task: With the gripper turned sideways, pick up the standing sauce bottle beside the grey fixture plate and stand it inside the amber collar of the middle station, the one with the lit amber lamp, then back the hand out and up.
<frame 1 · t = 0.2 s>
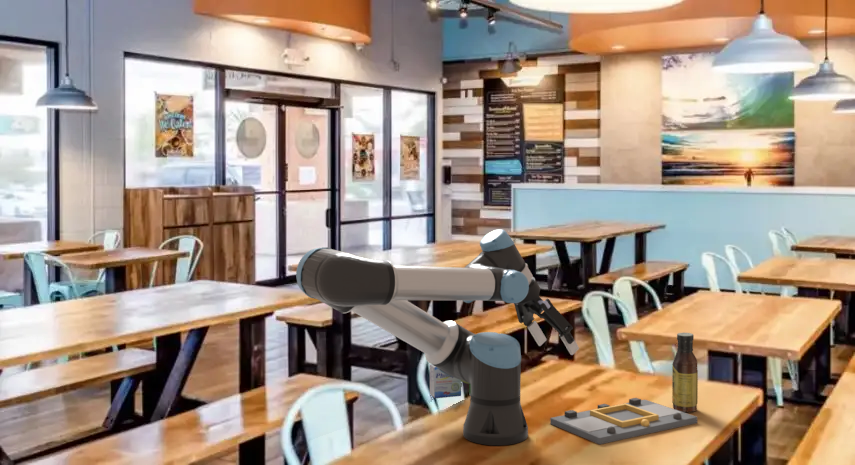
hand: (558, 347, 231), 15 cm above the table, tool tilted 35°, fingers open, 13 cm apart
sauce bottle: (684, 410, 227), on the table
medicine box: (445, 396, 242), on the table
soda can: (483, 399, 239), on the table
plant pot: (470, 381, 257), on the table
grey fixture plate: (623, 423, 216), on the table
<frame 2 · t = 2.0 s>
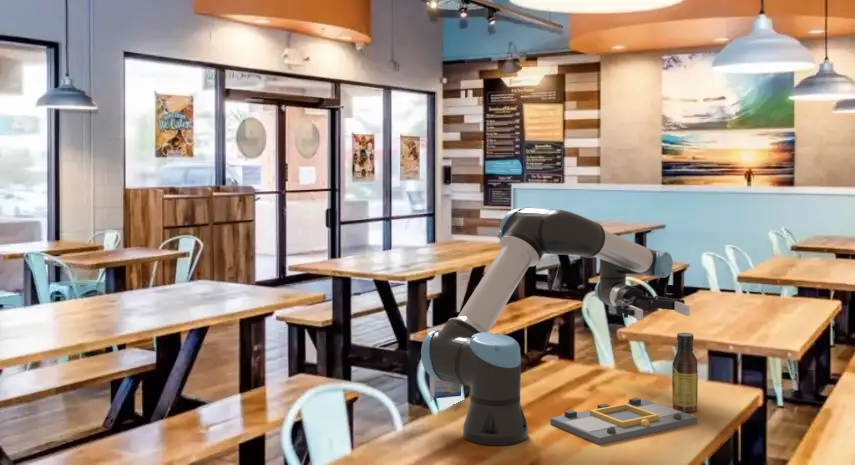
hand: (665, 312, 233), 24 cm above the table, tool horizontal, fingers open, 13 cm apart
nothing on the table moved.
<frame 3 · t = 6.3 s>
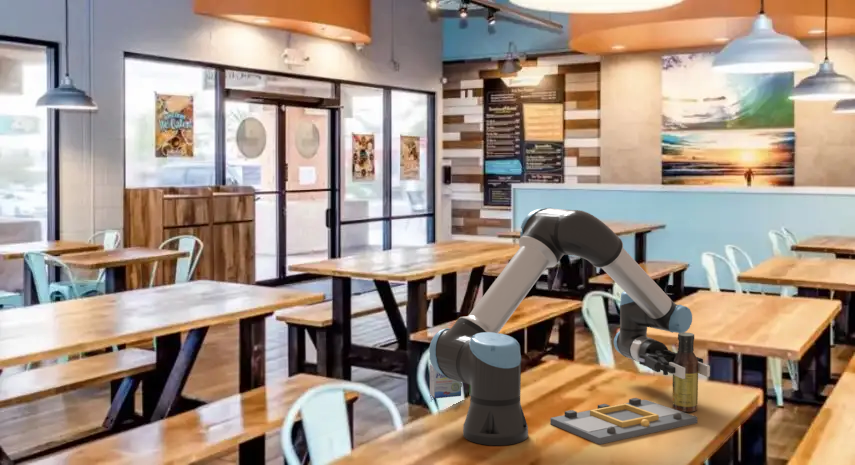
hand: (696, 372, 221), 11 cm above the table, tool horizontal, fingers closed on sauce bottle, 6 cm apart
sauce bottle: (684, 410, 227), on the table, touching gripper
everything else where it was.
when the fingers open (14 cm above the table, at t = 12.6 s): sauce bottle drops 1 cm, resting on grey fixture plate.
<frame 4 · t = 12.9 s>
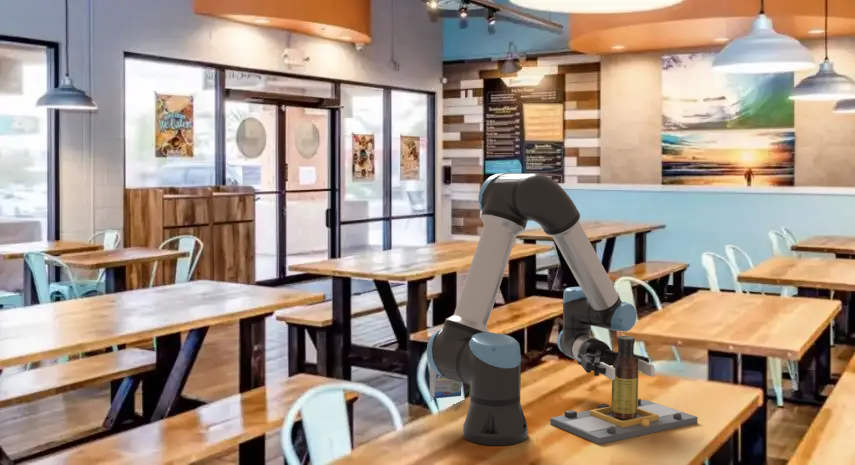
hand: (633, 372, 210), 14 cm above the table, tool horizontal, fingers open, 9 cm apart
sauce bottle: (623, 417, 216), point 1 cm above the table, touching grey fixture plate
everything else where it was.
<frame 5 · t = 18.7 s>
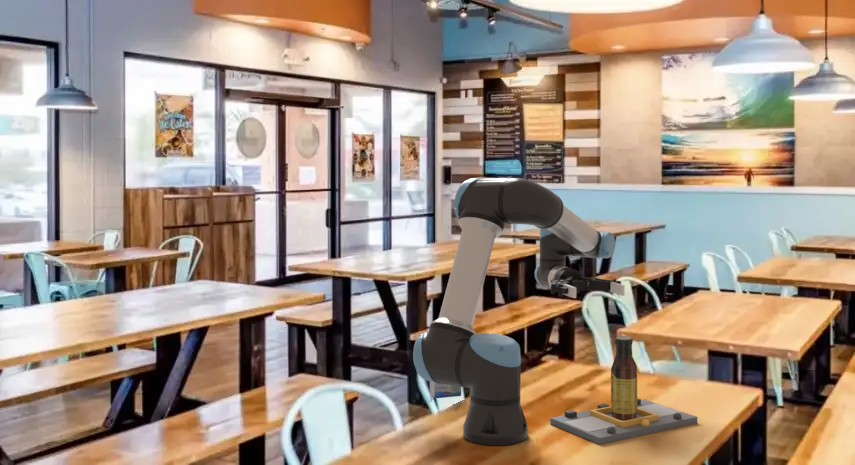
hand: (599, 291, 229), 30 cm above the table, tool horizontal, fingers open, 13 cm apart
nothing on the table moved.
at the end: sauce bottle 0.0 cm off-centre on the grey fixture plate, point 1.3 cm above the grey fixture plate's base; sauce bottle tilted 0°; the gripper is holding nothing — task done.
